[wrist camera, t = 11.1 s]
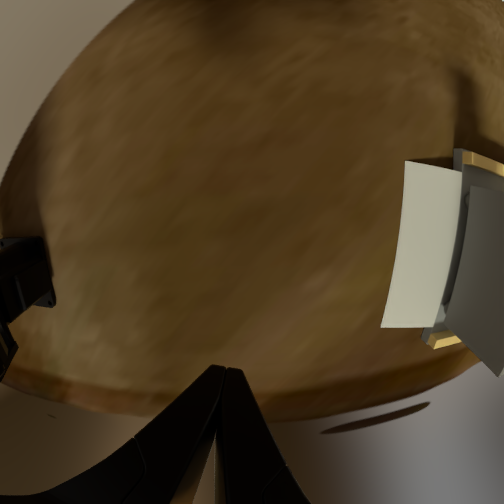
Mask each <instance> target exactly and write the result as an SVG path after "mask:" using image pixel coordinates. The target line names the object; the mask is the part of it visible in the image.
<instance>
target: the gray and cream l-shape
mask: <svg viewBox="0 0 504 504" xmlns="http://www.w3.org/2000/svg"><path fill="white" fill-rule="evenodd" d="M465 204H466V206H467V208H468V209H469V210H468V218H467V226H466V232H465V239H464V244H463V250H462V255H461V260H460V265H459V269H458V273H457V277H456V281H455V285H454V289H453V293H452V296H451V300H449V301H447V302H446V303H445V305H444V313H445V315H446V316H445V319H444V322H443V324H444V325H445V326H446V327H447V328H448V329H449V330H450V331H452V332H453V333H454V334H455V335H456V336H457V337H458V338H459V339H460V340H461V341H462V342H463V343H464V344H465V345H466V346H467V347H468V348H469V349H470V350H471V351H472V352H473V353H474V354H475V355H476V356H477V357H478V358H479V359H480V360H481V361H482V362H483V363H484V364H485V365H486V366H487V367H488V368H489V369H490V370H491V371H492V372H493V373H494V374H495V375H496V376H497V377H498V378H499V377H500V376H502V375H504V192H501V191H496V190H492V189H487V188H482V187H476V186H471V187H470V192H468V193H467V195H466V197H465Z"/></svg>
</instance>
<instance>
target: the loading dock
mask: <svg viewBox="0 0 504 504" xmlns="http://www.w3.org/2000/svg"><path fill="white" fill-rule="evenodd" d="M471 186H476V187H482V188H487V189H492V190H496V191H501V192H504V165H503V164H501V163H499V162H496V161H494V160H492V159H489V158H487V157H484V156H482V155H479V154H476V153H474V152H471V151H468V150H465V149H454V156H453V170H450V169H446V168H441V167H436V166H431V165H426V164H421V163H415V162H410V161H405V172H404V190H403V202H402V213H401V222H400V230H399V238H398V245H397V251H396V257H395V263H394V269H393V274H392V279H391V284H390V289H389V294H388V298H387V303H386V307H385V311H384V315H383V319H382V323H381V327H424V330H423V333H422V336H421V339H422V340H423V341H424V342H425V343H426V344H429V345H430V346H431V347H432V348H433V349H436V348H440V347H444V346H448V345H451V344H455V343H458V342H462V341H461V340H460V339H459V338H458V337H457V336H456V335H455V334H454V333H453V332H452V331H450V330H449V329H448V328H447V327H446V326H445V325H444V324H443V322H444V319H445V316H446V315H445V313H444V305H445V303H446V302H447V301H449V300H451V296H452V293H453V289H454V285H455V281H456V277H457V273H458V269H459V265H460V260H461V255H462V250H463V244H464V239H465V232H466V226H467V218H468V210H469V209H468V208H467V206H466V204H465V197H466V195H467V193H468V192H470V187H471Z"/></svg>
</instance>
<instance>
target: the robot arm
mask: <svg viewBox="0 0 504 504" xmlns="http://www.w3.org/2000/svg"><path fill="white" fill-rule="evenodd" d="M37 241H38V242H37ZM0 249H1V250H0V382H1V381H2V379H3V377H4V375H5V373H6V371H7V369H8V367H9V365H10V363H11V361H12V359H13V357H14V355H15V354H16V352H17V350H18V348H19V347H18V345H17V343H16V341H14V338H13V336H12V334H11V332H10V330H9V328H8V325H9V324H10V323H12V322H13V321H14V320H15V319H16V318H17V317H19V316H20V315H21V314H22V313H23V312H24V311H26V310H27V309H29V308H30V307H31V306H32V305H36V306H42V307H49V308H53V307H54V306H55V305H56V300H55V297H54V293H53V289H52V285H51V281H50V276H49V272H48V267H47V262H46V257H45V251H44V245H43V240H42V238H41V237H40V236H30V237H9V238H2V239H0ZM50 301H51V302H50ZM216 429H217V430H216ZM215 434H216V438H215ZM214 439H216V440H215V483H214V484H215V485H214V487H215V488H214V489H215V490H214V492H215V493H214V495H215V496H214V504H311V503H310V501H309V500H308V499H307V497H306V496H305V494H304V493H303V491H302V489H301V488H300V486H299V485H298V483H297V481H296V479H295V478H294V476H293V474H292V472H291V470H290V469H289V467H288V466H286V465H287V463H286V461H285V459H284V457H283V455H282V453H281V451H280V449H279V448H278V445H277V443H276V441H275V439H274V437H273V435H272V433H271V431H270V429H269V427H268V425H267V423H266V421H265V418H264V416H263V414H262V412H261V410H260V408H259V406H258V404H257V401H256V399H255V397H254V395H253V393H252V390H251V388H250V386H249V384H248V382H247V379H246V377H245V375H244V373H243V371H242V370H241V369H237V368H231V367H228V368H227V370H226V367H224V366H219V365H214V364H213V365H211V366H209V367H208V368H207V369H206V370H205V371H204V372H203V373H202V374H201V375H200V376H199V377H198V378H197V379H196V380H195V381H194V382H193V383H192V384H191V385H190V386H189V387H188V388H187V389H185V390H184V391H183V392H182V393H181V394H180V395H179V396H178V397H177V398H176V399H175V400H174V401H173V402H172V403H170V404H169V405H168V406H167V407H166V408H165V409H164V410H163V411H162V412H161V413H159V414H158V415H157V416H156V417H155V418H154V419H153V420H152V421H151V422H149V423H148V424H147V425H146V426H145V427H144V428H143V429H141V430H140V431H139V432H138V433H137V434H136V435H135V436H134V438H131V439H130V440H129V441H127V442H126V443H125V444H124V445H123V446H121V447H120V448H119V449H118V450H116V451H115V452H114V453H112V454H111V455H110V456H108V457H107V458H106V459H104V460H102V461H101V462H99V463H98V464H96V465H95V466H93V467H91V468H90V469H88V470H86V471H84V472H82V473H81V474H79V475H77V476H75V477H73V478H71V479H69V480H68V481H66V482H64V483H62V484H60V485H58V486H56V487H54V488H52V489H49V490H47V491H44V492H41V493H37V494H32V495H0V504H192V503H193V500H194V497H195V495H196V492H197V489H198V486H199V483H200V480H201V477H202V474H203V471H204V469H205V466H206V463H207V459H208V457H209V454H210V451H211V448H212V445H213V441H214Z"/></svg>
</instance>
